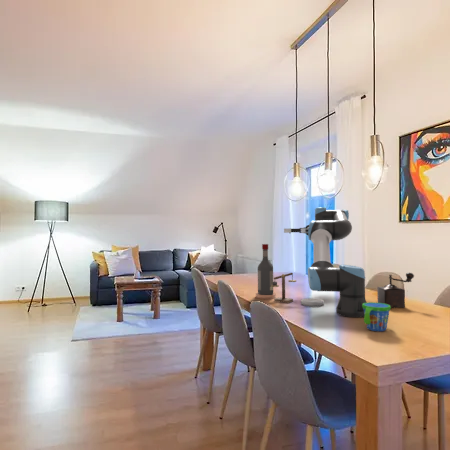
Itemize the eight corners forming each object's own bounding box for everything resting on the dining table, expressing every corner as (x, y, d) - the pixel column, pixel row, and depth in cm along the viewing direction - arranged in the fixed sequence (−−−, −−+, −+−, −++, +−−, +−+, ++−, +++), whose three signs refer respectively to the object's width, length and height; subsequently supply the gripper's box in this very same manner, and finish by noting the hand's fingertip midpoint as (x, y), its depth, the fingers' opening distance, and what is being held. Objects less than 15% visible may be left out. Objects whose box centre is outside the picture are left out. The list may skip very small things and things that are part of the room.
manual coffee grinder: (385, 308, 184) (385, 273, 185) (376, 303, 196) (376, 270, 196) (416, 308, 184) (415, 273, 185) (405, 303, 195) (404, 270, 196)
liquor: (257, 295, 213) (257, 244, 213) (258, 292, 222) (258, 243, 222) (273, 295, 212) (272, 244, 212) (273, 292, 221) (272, 243, 221)
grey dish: (326, 303, 197) (326, 299, 197) (319, 307, 187) (319, 303, 187) (305, 301, 204) (305, 297, 204) (297, 305, 194) (297, 301, 194)
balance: (298, 301, 202) (298, 272, 202) (294, 303, 197) (293, 273, 197) (273, 299, 211) (273, 270, 211) (269, 300, 206) (268, 271, 206)
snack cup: (376, 323, 155) (376, 300, 155) (399, 329, 147) (399, 304, 147) (353, 329, 147) (353, 304, 147) (376, 336, 138) (376, 309, 138)
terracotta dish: (278, 296, 219) (278, 293, 219) (270, 299, 209) (270, 296, 209) (261, 294, 225) (261, 291, 225) (252, 297, 215) (252, 294, 215)
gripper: (328, 236, 232) (309, 236, 218) (297, 235, 251) (277, 236, 237) (328, 224, 232) (309, 224, 218) (297, 224, 251) (277, 225, 237)
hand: (292, 230), depth 227 cm, fingers open, 13 cm apart
